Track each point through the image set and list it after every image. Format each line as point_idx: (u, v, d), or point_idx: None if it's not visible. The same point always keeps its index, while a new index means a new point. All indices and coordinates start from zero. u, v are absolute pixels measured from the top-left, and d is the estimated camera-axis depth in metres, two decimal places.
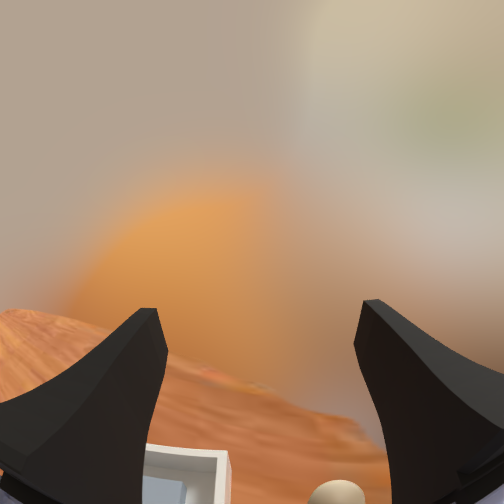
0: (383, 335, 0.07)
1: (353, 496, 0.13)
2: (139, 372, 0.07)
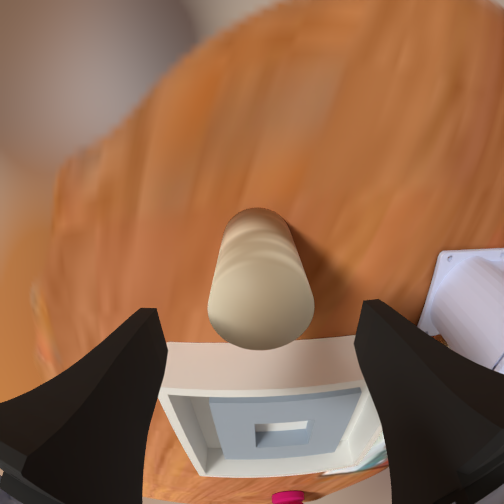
0: (383, 335, 0.07)
1: (255, 285, 0.10)
2: (139, 372, 0.07)
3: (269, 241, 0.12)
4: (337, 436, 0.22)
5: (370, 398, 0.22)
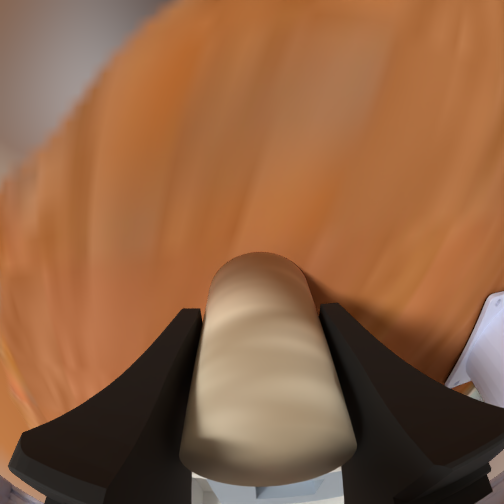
0: (335, 341, 0.07)
1: (259, 445, 0.04)
2: (189, 375, 0.07)
3: (283, 344, 0.06)
4: None
5: None
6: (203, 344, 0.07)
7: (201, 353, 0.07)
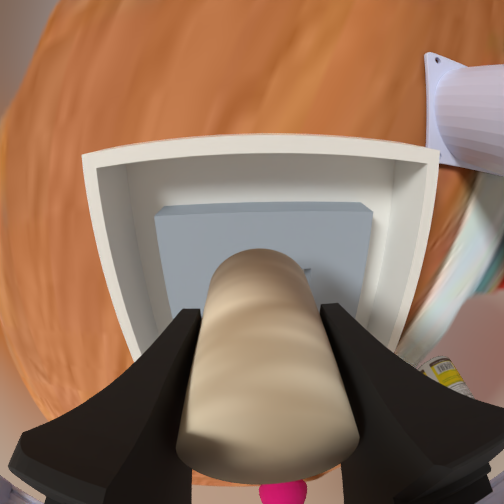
0: (335, 341, 0.07)
1: (258, 436, 0.04)
2: (189, 375, 0.07)
3: (281, 333, 0.06)
4: None
5: (386, 255, 0.17)
6: (201, 337, 0.07)
7: (199, 346, 0.07)
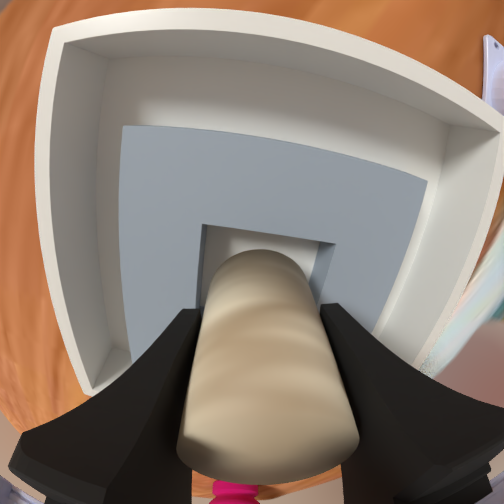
0: (335, 341, 0.07)
1: (258, 437, 0.04)
2: (189, 375, 0.07)
3: (281, 334, 0.06)
4: None
5: (423, 249, 0.13)
6: (202, 338, 0.07)
7: (199, 347, 0.07)
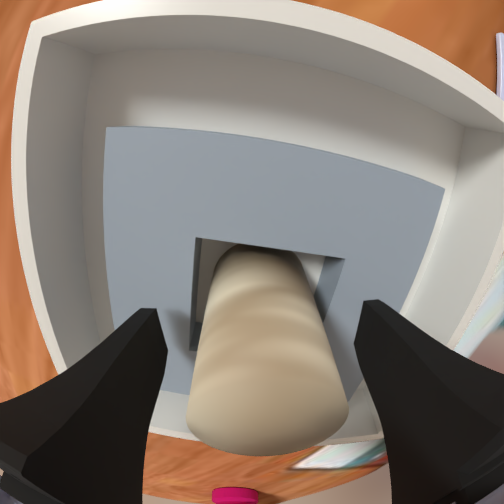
0: (383, 335, 0.07)
1: (258, 402, 0.05)
2: (139, 372, 0.07)
3: (279, 314, 0.07)
4: None
5: (436, 261, 0.11)
6: (207, 319, 0.08)
7: (206, 326, 0.08)
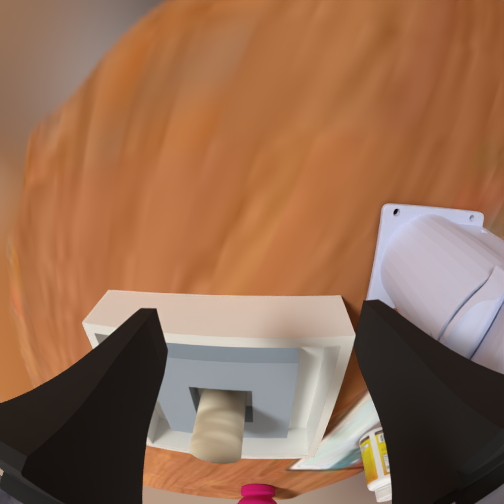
0: (383, 335, 0.07)
1: (207, 448, 0.17)
2: (139, 372, 0.07)
3: (215, 421, 0.18)
4: (285, 418, 0.22)
5: (319, 377, 0.22)
6: (196, 417, 0.20)
7: (195, 420, 0.19)
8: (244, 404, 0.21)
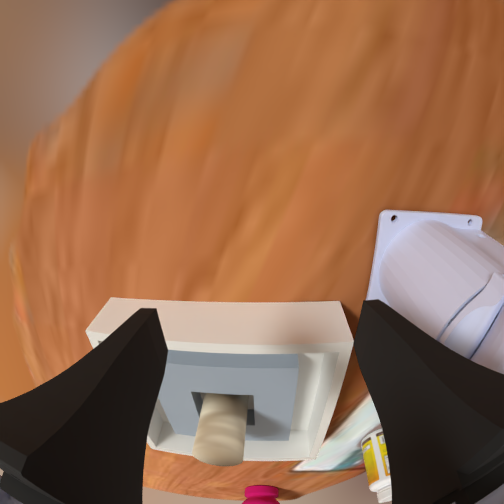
0: (383, 335, 0.07)
1: (209, 451, 0.17)
2: (139, 372, 0.07)
3: (217, 424, 0.19)
4: (286, 421, 0.22)
5: (320, 380, 0.22)
6: (199, 421, 0.20)
7: (198, 424, 0.20)
8: (246, 408, 0.22)
